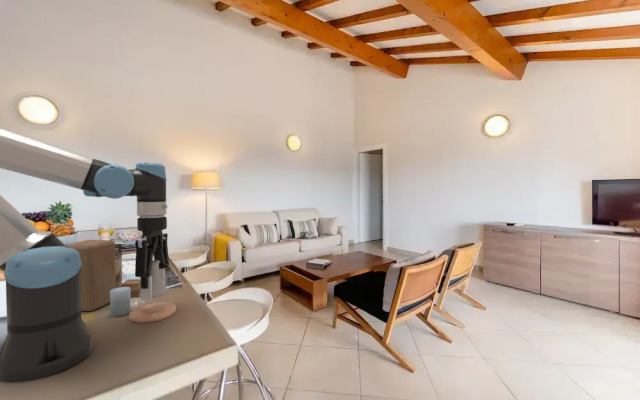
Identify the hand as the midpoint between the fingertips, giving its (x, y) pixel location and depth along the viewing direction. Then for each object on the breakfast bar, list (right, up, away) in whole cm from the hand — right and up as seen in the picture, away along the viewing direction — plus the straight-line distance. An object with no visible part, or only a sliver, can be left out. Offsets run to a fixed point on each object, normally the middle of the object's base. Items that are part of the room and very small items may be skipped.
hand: (153, 294), depth 88 cm
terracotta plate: (0, -6, 0) cm, 6 cm away
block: (-23, -6, +6) cm, 25 cm away
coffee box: (-29, -5, +21) cm, 36 cm away
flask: (0, 0, 0) cm, 0 cm away
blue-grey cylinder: (-10, -6, +1) cm, 12 cm away
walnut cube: (-16, -5, +16) cm, 23 cm away
